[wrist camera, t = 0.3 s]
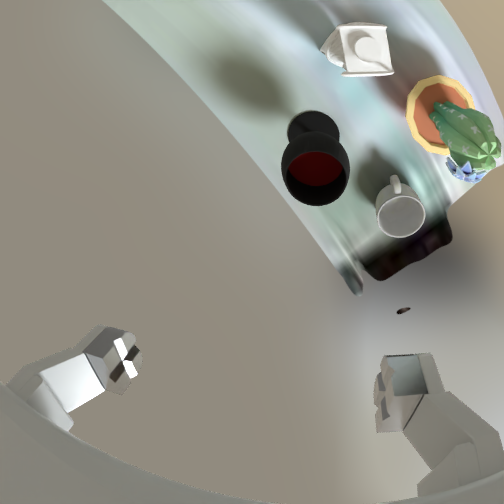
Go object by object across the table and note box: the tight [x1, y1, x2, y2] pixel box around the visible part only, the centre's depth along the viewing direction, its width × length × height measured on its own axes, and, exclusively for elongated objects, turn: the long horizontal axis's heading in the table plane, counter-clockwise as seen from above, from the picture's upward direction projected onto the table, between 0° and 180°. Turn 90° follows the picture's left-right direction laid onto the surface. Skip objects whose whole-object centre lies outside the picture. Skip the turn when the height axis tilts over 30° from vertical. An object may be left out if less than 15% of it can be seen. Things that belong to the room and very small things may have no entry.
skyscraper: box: [320, 22, 394, 77], centre depth 29 cm, size 8×8×28 cm
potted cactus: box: [405, 75, 501, 183], centre depth 32 cm, size 15×15×25 cm
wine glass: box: [281, 112, 350, 206], centre depth 44 cm, size 10×10×20 cm
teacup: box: [375, 175, 425, 237], centre depth 53 cm, size 14×11×8 cm
